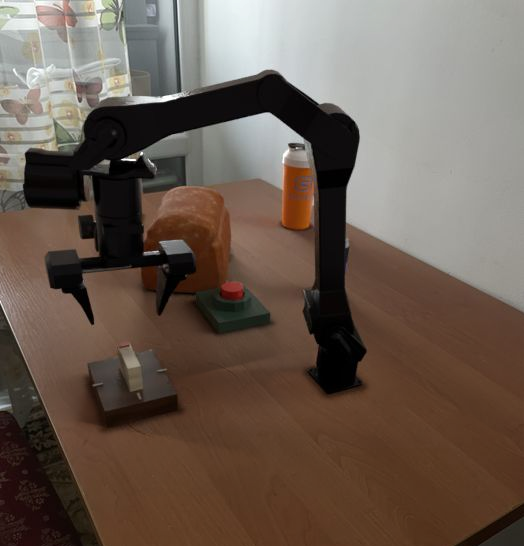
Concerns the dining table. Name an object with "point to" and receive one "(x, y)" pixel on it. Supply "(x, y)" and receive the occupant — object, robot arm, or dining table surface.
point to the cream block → (129, 366)
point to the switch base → (136, 404)
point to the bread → (193, 236)
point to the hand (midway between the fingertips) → (126, 318)
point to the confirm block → (232, 310)
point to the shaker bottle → (297, 188)
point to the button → (232, 290)
